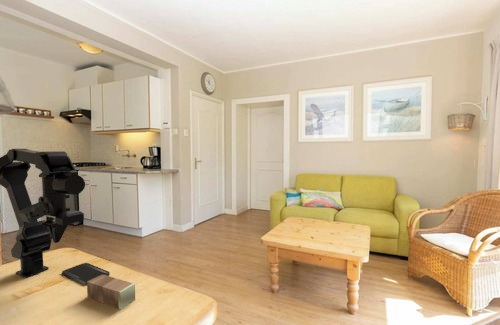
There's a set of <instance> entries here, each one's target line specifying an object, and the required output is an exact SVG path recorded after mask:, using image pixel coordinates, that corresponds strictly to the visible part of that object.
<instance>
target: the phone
mask: <svg viewBox="0 0 500 325" xmlns="http://www.w3.org/2000/svg"><path fill="white" fill-rule="evenodd" d="M61 274H62V275H63V276H65V277H67V278H68V279H70V280H73V281H75V282H77V283H79V284H81V285H84V286H87V281H89V280H91V279H94V278H96V277H98V276H100V275H102V274H103V275H106V276H110V271H108V270H106V269H103V268H100V267H99V266H95V265H93V264H91V263H88V262H82V263H80V264H77V265H75V266H72V267H70V268H66V269H64V270H62V272H61Z"/></svg>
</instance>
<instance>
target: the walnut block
mask: <svg viewBox="0 0 500 325" xmlns="http://www.w3.org/2000/svg"><path fill="white" fill-rule="evenodd" d="M86 290H87V292H86V293H87V296H86V297H87V298H88V299H91V300H93V301H96V302H99V303H102V304H104V305H107V306H110V307H113V308H116V309H117V310H118V309H119V310H122V309H124V308H125V307H128V305H130V304H131V303H133V302H134V301H136V284H135V283H133V282H130V281H127V280H123V279H120V278H116V277H113V276H110V275H109V276H106V275H103V274H102V275H100V276H98V277H96V278H94V279H91V280H89V281H87V285H86Z"/></svg>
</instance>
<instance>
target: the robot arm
mask: <svg viewBox="0 0 500 325" xmlns="http://www.w3.org/2000/svg"><path fill="white" fill-rule="evenodd" d="M31 165H34V167H35V168H36V169H38V170H40V171H41V173H39V174H38V177H39V178H41V180H42V181H41V184H42V186H41V187H42V188H41V189H42V196H38V202H36V203H33V204H32V201H31V198H30V195H29V192H28V190H27V186H26V181H27V178H28V176H29V173H28V172H29V170H30V169H31V168H32V166H31ZM0 186H2V187H3V188H5V190H6V192H7V194H8V198H9V201H10V203H11V207H12V209H13V213H14V216H15V219H16V221H17V225H18V231H17V234H16V236H15V243H14V245H13V246H12V248H11V249H10V250H11V251H10V252H11V257H12V258H15V259H18V260H20V262H19V263H20V270H17V271H15V274H16V275H18V276H22V277H25V278H29V277H30V276H33V275H36V274H38V273H42V272H44V271H46V270H49V266H46V265H44V252H46V251H50V250H51V246H52V245H51V244H52V241H53V243H55V244H58V243H59V242H60V241H61V239H62V237H63V235H64V233H65V232H66V229H67V228H68V227H69V225H71V224H74V223H79V222H82V221H85V213H84V212H82V211H80V210H74V209H73V210H71V207H68V205H67V203H68V202H67V199H70V195H72V196H73V195H74V196H75V195H79V194H81V193H82V192H83V191H84V189H85V187H86V181H85V179H84V178H83V177H82V176H80V175H79V171H78V170H76V166H75V165H74V163H73V161H72V160H71V158H70V156H69V155H68V153H67V152H66V151H61V150H59V151H55V150H54V151H53V150H52V151H51V150H50V151H37V150H32V149H28V148H11V149H8V151H7V153H5V154H4V155H2V156H1V157H0ZM38 219H41V220H38Z"/></svg>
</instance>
